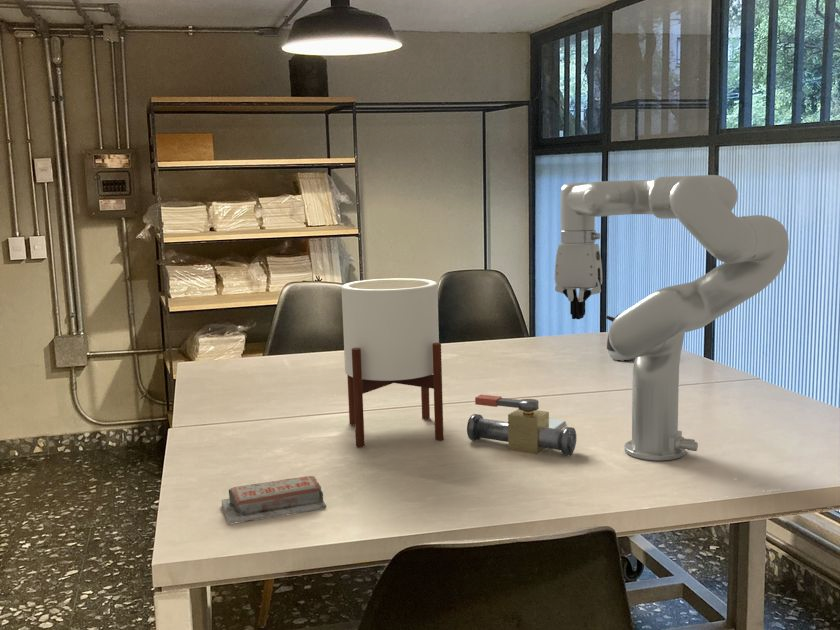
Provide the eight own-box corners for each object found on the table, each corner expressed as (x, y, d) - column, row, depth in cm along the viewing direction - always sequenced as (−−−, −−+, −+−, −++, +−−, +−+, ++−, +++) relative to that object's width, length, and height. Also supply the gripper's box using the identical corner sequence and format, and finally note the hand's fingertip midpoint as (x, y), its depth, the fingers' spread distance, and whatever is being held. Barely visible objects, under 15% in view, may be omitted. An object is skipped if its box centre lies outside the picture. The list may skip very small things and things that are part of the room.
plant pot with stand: (449, 441, 195) (445, 286, 190) (352, 449, 192) (345, 292, 186) (432, 415, 217) (428, 276, 212) (344, 422, 214) (338, 280, 208)
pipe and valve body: (576, 450, 186) (576, 411, 184) (565, 458, 181) (565, 418, 180) (479, 436, 199) (479, 399, 197) (467, 443, 194) (466, 405, 192)
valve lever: (541, 406, 188) (541, 399, 188) (534, 411, 184) (534, 404, 184) (482, 400, 195) (482, 393, 195) (474, 405, 191) (473, 398, 191)
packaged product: (313, 469, 166) (325, 486, 157) (314, 493, 167) (327, 511, 157) (219, 483, 160) (226, 501, 151) (221, 507, 161) (228, 527, 151)
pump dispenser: (604, 356, 282) (604, 310, 279) (637, 356, 280) (637, 310, 278) (607, 362, 272) (607, 315, 269) (640, 362, 270) (641, 315, 268)
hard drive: (534, 416, 210) (513, 429, 199) (565, 420, 206) (546, 434, 195) (534, 422, 210) (513, 436, 200) (565, 427, 206) (546, 441, 196)
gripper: (615, 237, 191) (615, 317, 194) (553, 236, 199) (554, 314, 202) (603, 239, 185) (603, 323, 188) (540, 239, 193) (541, 318, 196)
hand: (577, 318), depth 195 cm, fingers closed
